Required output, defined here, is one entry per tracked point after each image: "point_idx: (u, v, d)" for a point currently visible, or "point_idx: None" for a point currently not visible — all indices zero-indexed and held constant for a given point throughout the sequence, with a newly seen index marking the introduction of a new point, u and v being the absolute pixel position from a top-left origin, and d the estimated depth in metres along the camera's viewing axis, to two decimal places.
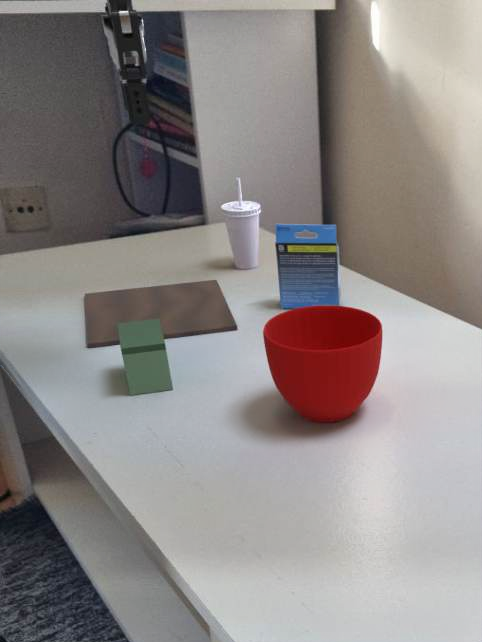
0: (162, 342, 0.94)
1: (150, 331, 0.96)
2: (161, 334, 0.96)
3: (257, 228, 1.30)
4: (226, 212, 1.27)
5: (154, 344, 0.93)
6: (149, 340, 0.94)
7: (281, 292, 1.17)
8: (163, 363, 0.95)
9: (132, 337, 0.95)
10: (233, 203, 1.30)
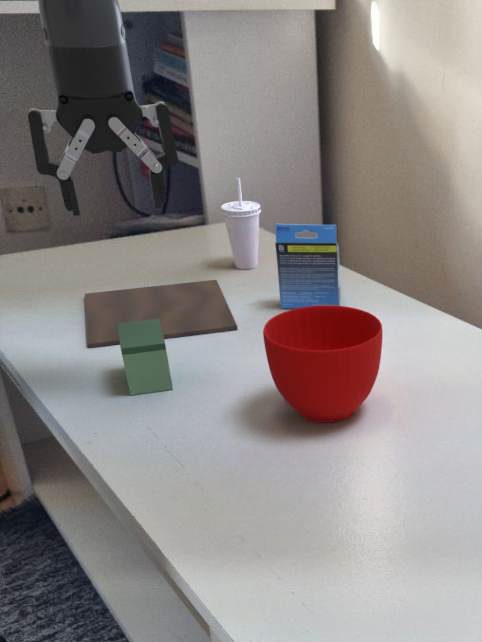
0: (162, 342, 0.94)
1: (150, 331, 0.96)
2: (161, 334, 0.96)
3: (257, 228, 1.30)
4: (226, 212, 1.27)
5: (154, 344, 0.93)
6: (149, 340, 0.94)
7: (281, 292, 1.17)
8: (163, 363, 0.95)
9: (132, 337, 0.95)
10: (233, 203, 1.30)
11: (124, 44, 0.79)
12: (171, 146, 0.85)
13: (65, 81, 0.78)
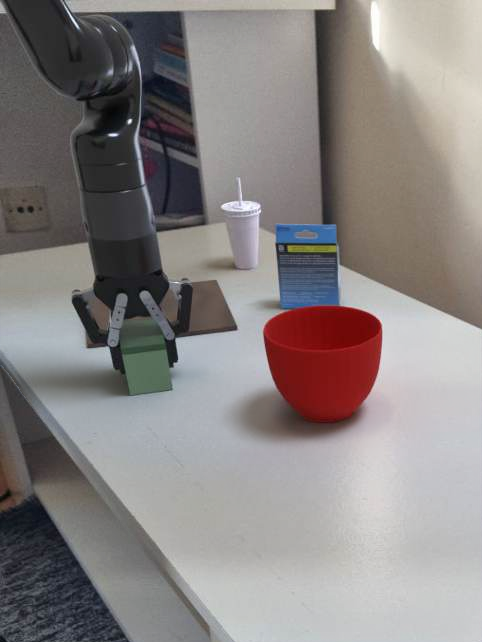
0: (162, 342, 0.94)
1: (150, 331, 0.96)
2: (161, 334, 0.96)
3: (257, 228, 1.30)
4: (226, 212, 1.27)
5: (154, 344, 0.93)
6: (149, 340, 0.94)
7: (281, 292, 1.17)
8: (163, 363, 0.95)
9: (132, 337, 0.95)
10: (233, 203, 1.30)
11: (154, 231, 0.89)
12: (186, 318, 0.96)
13: (103, 266, 0.88)
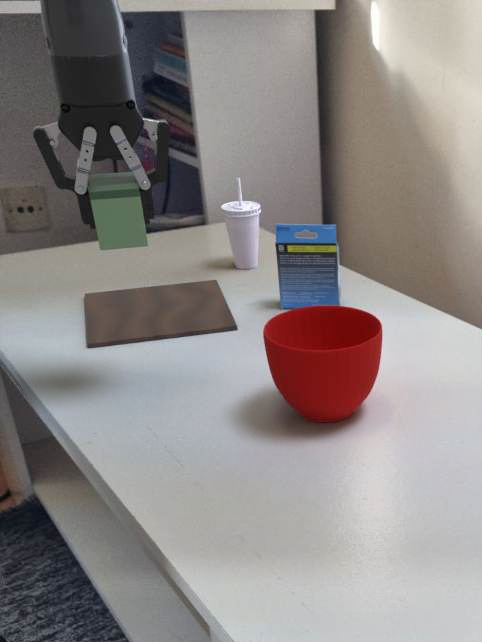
0: (135, 187, 0.84)
1: (123, 180, 0.86)
2: (135, 182, 0.86)
3: (257, 228, 1.30)
4: (226, 212, 1.27)
5: (126, 189, 0.83)
6: (121, 186, 0.84)
7: (281, 292, 1.17)
8: (137, 213, 0.85)
9: (102, 184, 0.85)
10: (233, 203, 1.30)
11: (126, 53, 0.79)
12: (163, 164, 0.86)
13: (67, 90, 0.78)
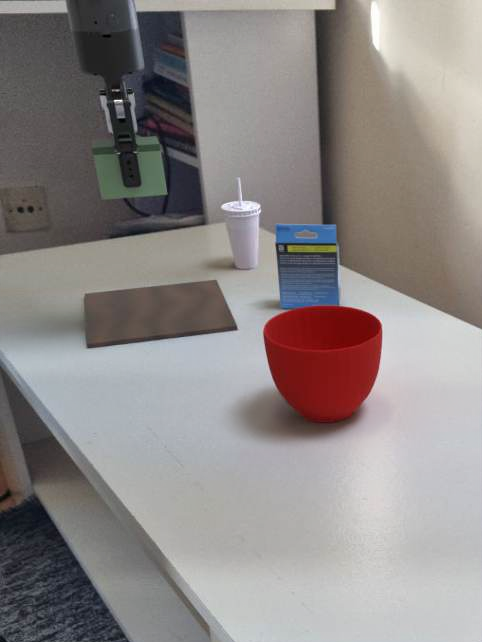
0: (154, 136, 1.02)
1: (125, 140, 1.00)
2: None
3: (257, 228, 1.30)
4: (226, 212, 1.27)
5: (156, 138, 1.01)
6: (146, 139, 1.01)
7: (281, 292, 1.17)
8: None
9: None
10: (233, 203, 1.30)
11: None
12: None
13: (134, 59, 0.93)
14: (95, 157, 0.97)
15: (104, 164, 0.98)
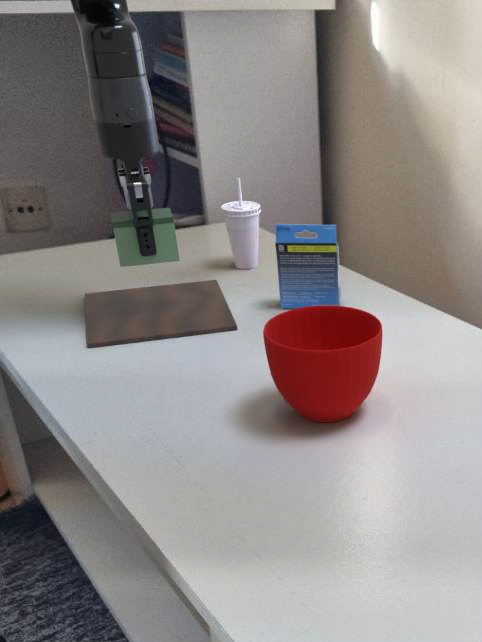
0: (167, 208, 1.12)
1: (141, 212, 1.10)
2: None
3: (257, 228, 1.30)
4: (226, 212, 1.27)
5: (169, 210, 1.11)
6: (160, 211, 1.11)
7: (281, 292, 1.17)
8: None
9: None
10: (233, 203, 1.30)
11: None
12: None
13: (151, 144, 1.03)
14: (115, 230, 1.07)
15: (123, 236, 1.08)
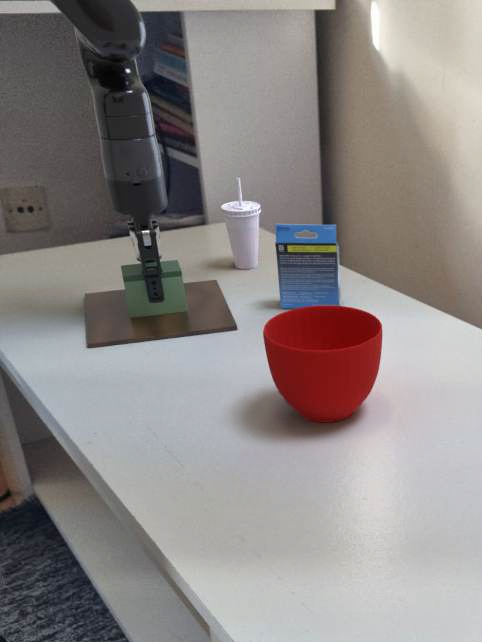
0: (175, 260, 1.16)
1: (150, 265, 1.14)
2: None
3: (257, 228, 1.30)
4: (226, 212, 1.27)
5: (177, 262, 1.16)
6: (169, 264, 1.15)
7: (281, 292, 1.17)
8: None
9: None
10: (233, 203, 1.30)
11: None
12: None
13: (160, 200, 1.07)
14: (125, 284, 1.11)
15: (133, 289, 1.12)
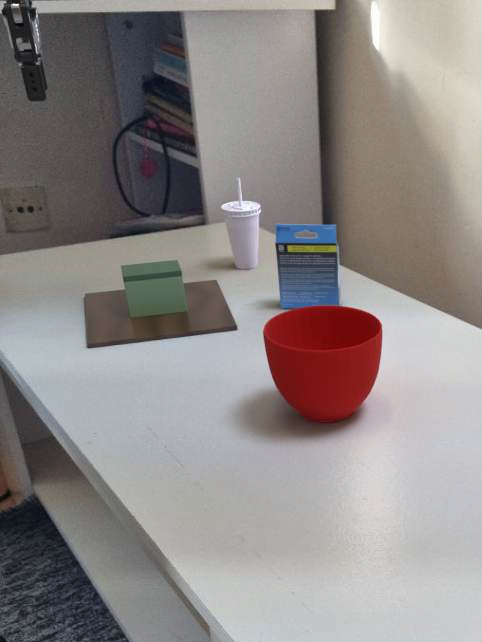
0: (175, 260, 1.16)
1: (150, 265, 1.14)
2: (158, 262, 1.16)
3: (257, 228, 1.30)
4: (226, 212, 1.27)
5: (177, 262, 1.16)
6: (169, 264, 1.15)
7: (281, 292, 1.17)
8: None
9: (159, 269, 1.13)
10: (233, 203, 1.30)
11: None
12: None
13: None
14: (125, 284, 1.11)
15: (133, 289, 1.12)
